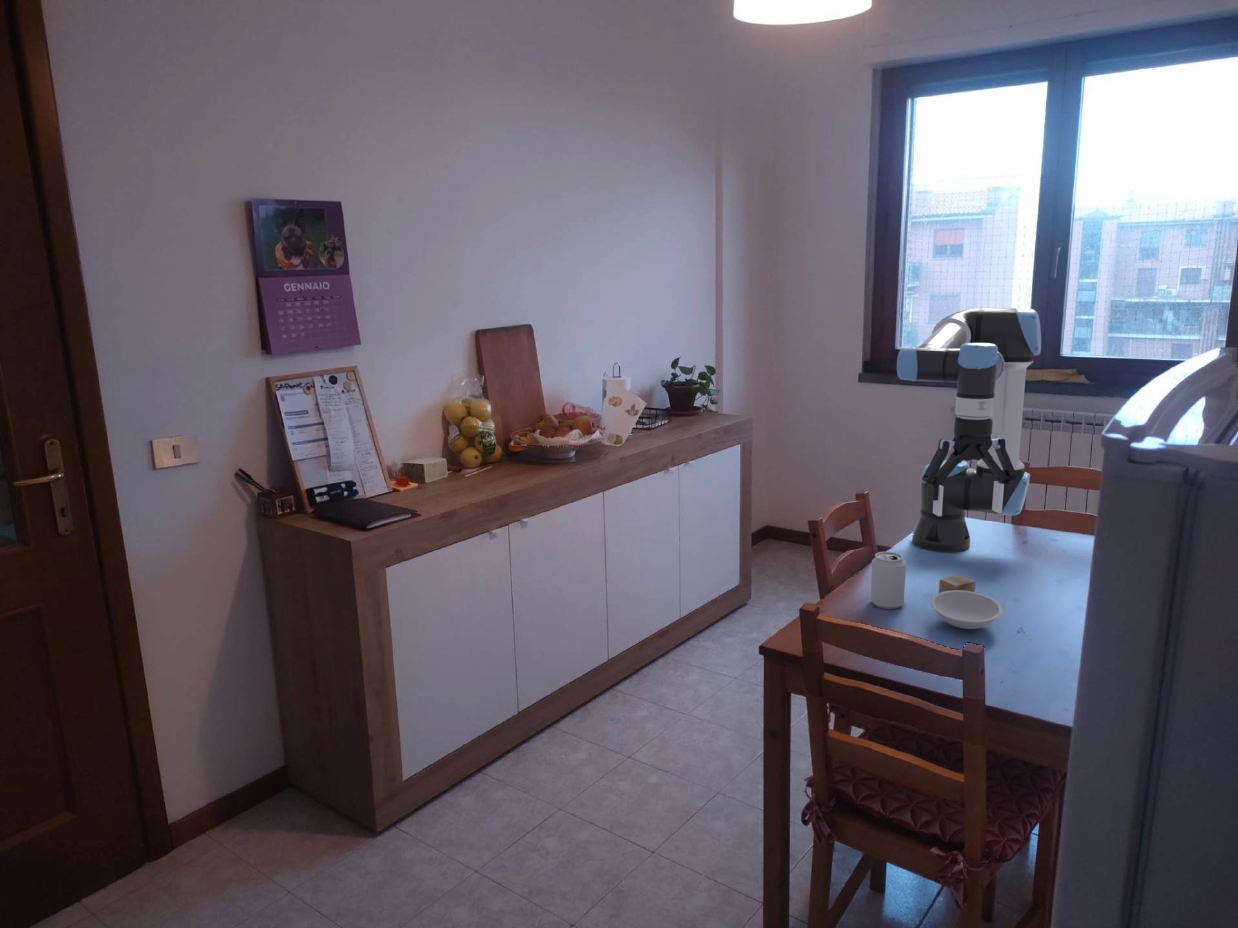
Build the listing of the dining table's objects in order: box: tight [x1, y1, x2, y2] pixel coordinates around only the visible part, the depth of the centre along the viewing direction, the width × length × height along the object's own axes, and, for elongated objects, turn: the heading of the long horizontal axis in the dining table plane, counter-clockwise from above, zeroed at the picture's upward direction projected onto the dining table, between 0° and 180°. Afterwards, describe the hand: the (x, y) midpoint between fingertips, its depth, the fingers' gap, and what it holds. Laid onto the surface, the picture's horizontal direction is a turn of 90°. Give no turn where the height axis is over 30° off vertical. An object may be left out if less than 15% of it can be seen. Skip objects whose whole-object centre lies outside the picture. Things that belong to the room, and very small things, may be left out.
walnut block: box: [938, 574, 976, 593], centre depth 203 cm, size 6×5×4 cm
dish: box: [930, 590, 1003, 630], centre depth 186 cm, size 18×14×5 cm
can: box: [869, 551, 907, 610], centre depth 198 cm, size 8×8×12 cm
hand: (967, 513), depth 187 cm, fingers open, 13 cm apart
